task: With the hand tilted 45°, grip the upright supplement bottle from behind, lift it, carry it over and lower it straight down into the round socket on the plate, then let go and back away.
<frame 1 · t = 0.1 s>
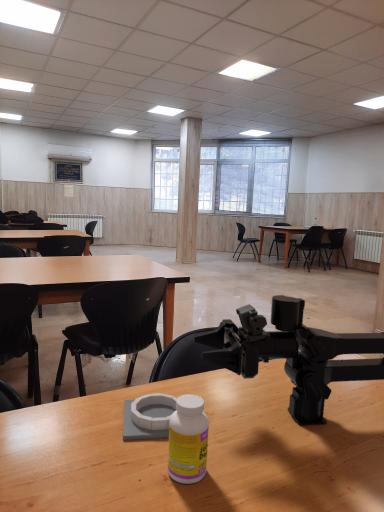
hand: (197, 346, 78), 17 cm above the table, tool horizontal, fingers open, 9 cm apart
supplement bottle: (186, 472, 65), on the table
socket plate: (157, 418, 81), on the table
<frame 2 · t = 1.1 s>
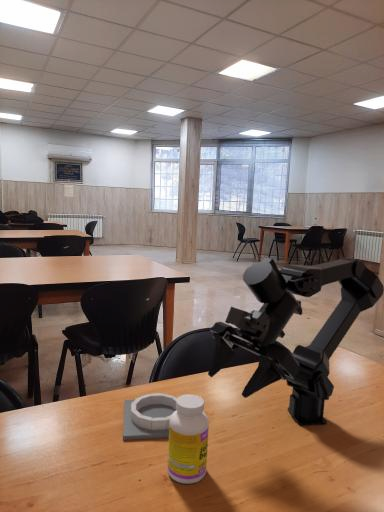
hand: (225, 385, 68), 14 cm above the table, tool tilted 45°, fingers open, 9 cm apart
nothing on the table moved.
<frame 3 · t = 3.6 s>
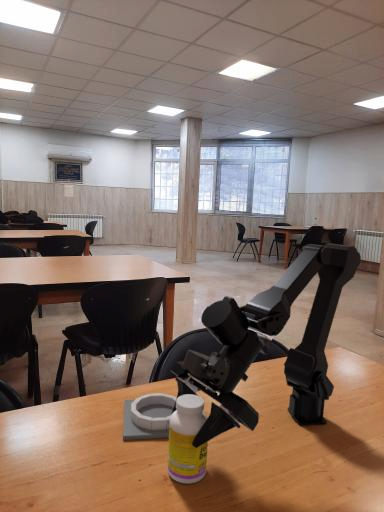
hand: (181, 435, 63), 7 cm above the table, tool tilted 45°, fingers closed on supplement bottle, 7 cm apart
supplement bottle: (186, 472, 65), on the table, touching gripper
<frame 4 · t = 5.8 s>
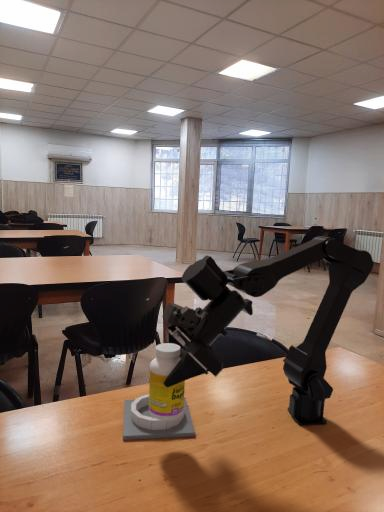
hand: (160, 377, 71), 13 cm above the table, tool tilted 45°, fingers closed on supplement bottle, 7 cm apart
supplement bottle: (166, 413, 72), point 6 cm above the table, touching gripper
when the fingers open (9 cm above the table, at t = 8.0 s): supplement bottle stays where it is, resting on socket plate.
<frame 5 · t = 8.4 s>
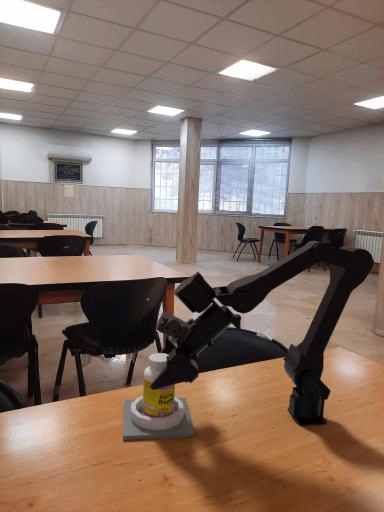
hand: (151, 378, 80), 9 cm above the table, tool tilted 45°, fingers open, 9 cm apart
supplement bottle: (158, 415, 81), point 1 cm above the table, touching socket plate
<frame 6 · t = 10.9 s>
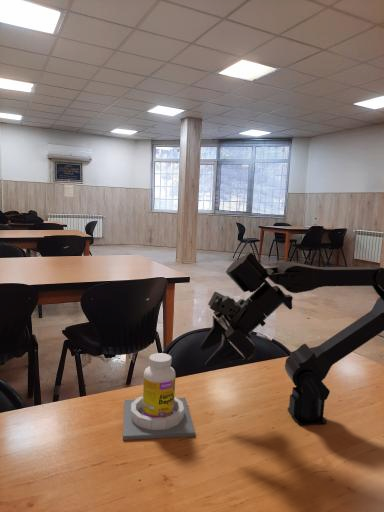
hand: (203, 357, 81), 13 cm above the table, tool tilted 45°, fingers open, 9 cm apart
nothing on the table moved.
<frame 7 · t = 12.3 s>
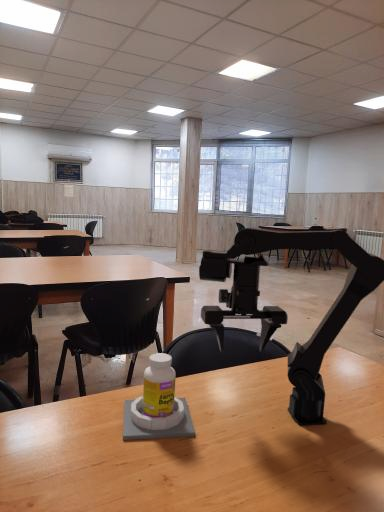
hand: (241, 351, 86), 13 cm above the table, tool pointing down, fingers open, 9 cm apart
nothing on the table moved.
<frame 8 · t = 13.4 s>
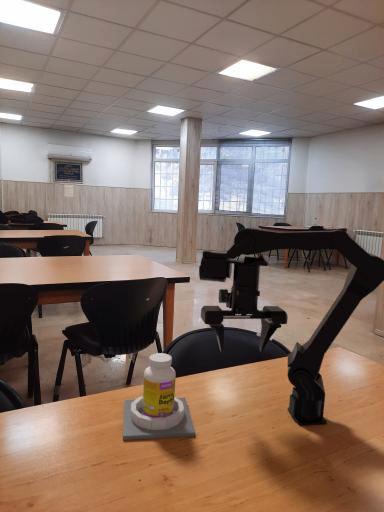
hand: (241, 351, 86), 13 cm above the table, tool pointing down, fingers open, 9 cm apart
nothing on the table moved.
at the end: supplement bottle 0.2 cm off-centre on the socket plate, point 0.6 cm above the socket plate's base; supplement bottle tilted 0°; the gripper is holding nothing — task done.
